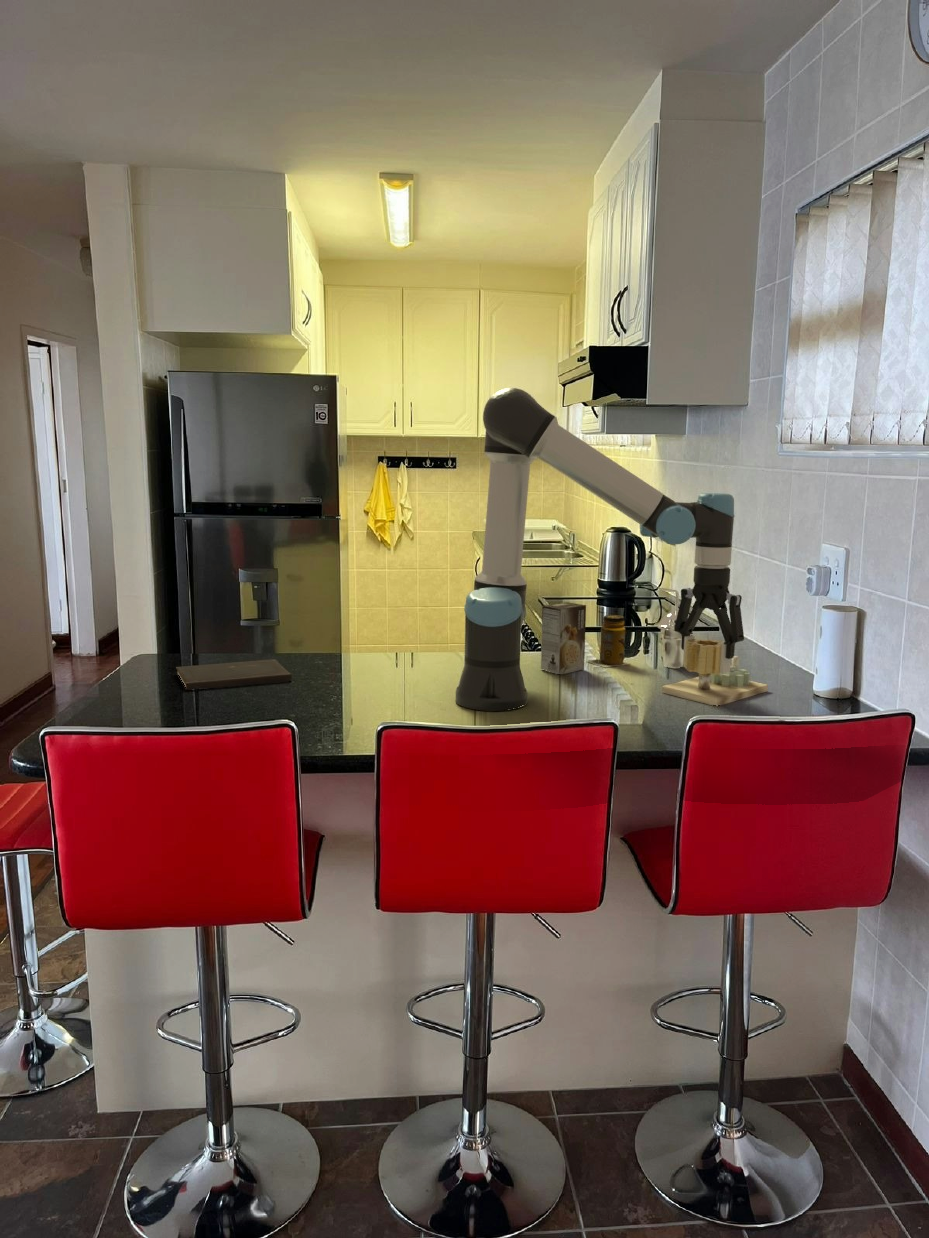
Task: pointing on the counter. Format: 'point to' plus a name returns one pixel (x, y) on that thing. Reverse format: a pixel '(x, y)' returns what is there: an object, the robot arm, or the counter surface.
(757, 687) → the board
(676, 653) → the cup with straw
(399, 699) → the counter surface
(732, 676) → the crank gear
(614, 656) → the condiment
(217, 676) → the hardcover book
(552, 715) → the counter surface
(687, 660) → the brass gear
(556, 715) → the counter surface
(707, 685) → the steel peg
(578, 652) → the brown and white box
